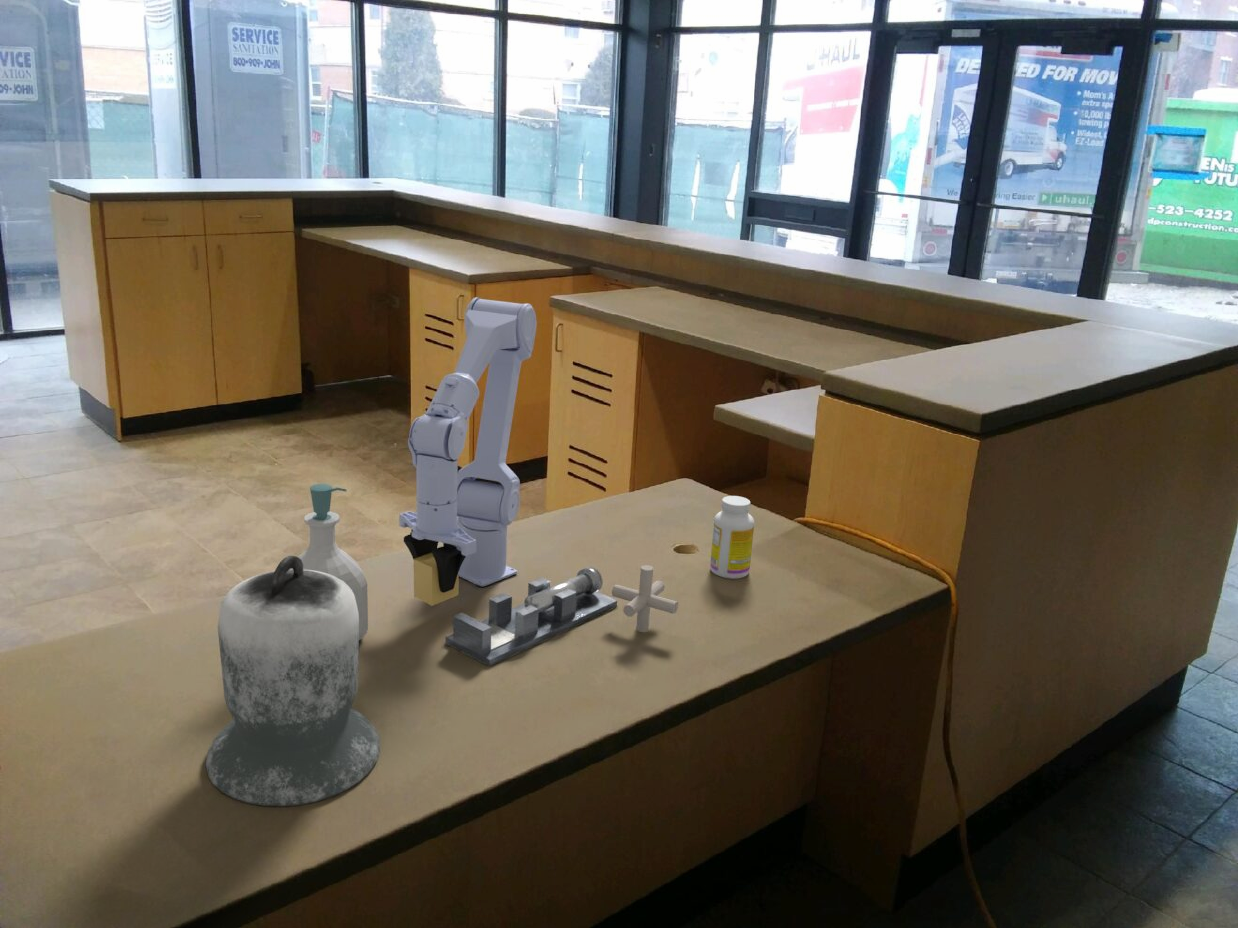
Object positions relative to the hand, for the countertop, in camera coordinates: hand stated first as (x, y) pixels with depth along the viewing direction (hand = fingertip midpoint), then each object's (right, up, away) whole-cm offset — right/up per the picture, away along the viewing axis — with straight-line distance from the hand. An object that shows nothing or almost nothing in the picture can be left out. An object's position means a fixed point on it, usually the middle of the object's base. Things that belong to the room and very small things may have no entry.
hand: (436, 584), depth 157 cm
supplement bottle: (+45, -1, +24) cm, 51 cm away
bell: (-11, -16, -32) cm, 38 cm away
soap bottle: (-15, -7, -6) cm, 17 cm away
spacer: (0, -2, 0) cm, 2 cm away
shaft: (+18, -4, +6) cm, 19 cm away
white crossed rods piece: (+30, -7, +3) cm, 31 cm away
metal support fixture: (+14, -6, +2) cm, 16 cm away
